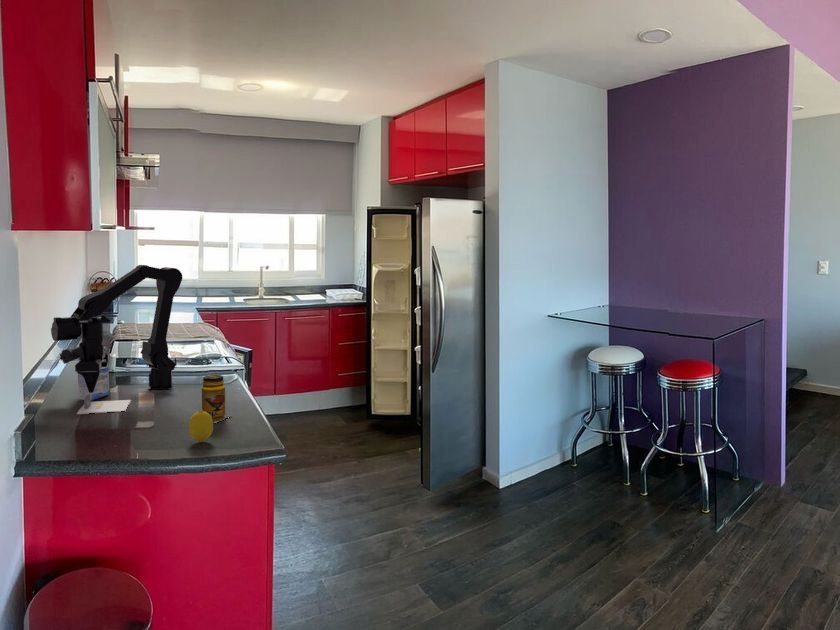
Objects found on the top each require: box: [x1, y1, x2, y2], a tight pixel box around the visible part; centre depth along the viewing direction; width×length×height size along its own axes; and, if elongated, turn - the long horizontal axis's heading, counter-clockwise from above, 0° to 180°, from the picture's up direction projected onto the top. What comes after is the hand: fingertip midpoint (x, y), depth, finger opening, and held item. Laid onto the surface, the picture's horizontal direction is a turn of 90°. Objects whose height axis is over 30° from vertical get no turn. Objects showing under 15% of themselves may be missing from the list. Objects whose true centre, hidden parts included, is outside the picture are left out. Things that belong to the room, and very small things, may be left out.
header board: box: [76, 395, 132, 415], centre depth 172 cm, size 12×12×3 cm
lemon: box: [188, 409, 214, 443], centre depth 145 cm, size 6×6×8 cm
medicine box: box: [77, 366, 110, 402], centre depth 182 cm, size 8×4×9 cm, turn 169°
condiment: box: [201, 374, 230, 422], centre depth 164 cm, size 7×8×12 cm
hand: (94, 388), depth 182 cm, fingers closed on medicine box, 9 cm apart
